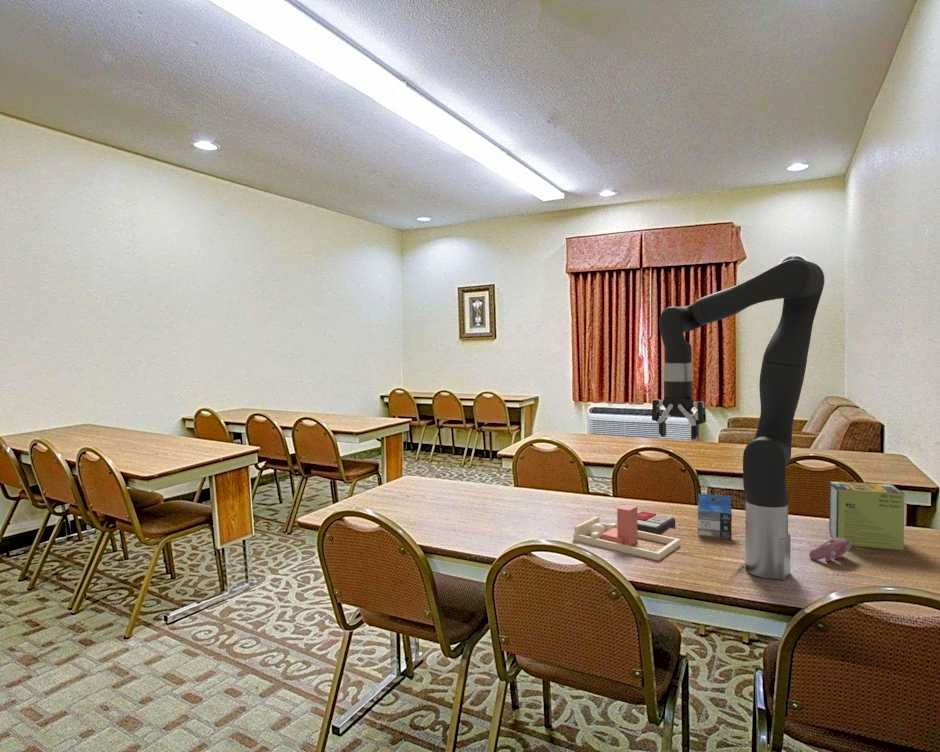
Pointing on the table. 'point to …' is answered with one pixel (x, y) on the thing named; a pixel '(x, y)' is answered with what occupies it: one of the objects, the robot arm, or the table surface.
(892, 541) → the protein box
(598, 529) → the ball
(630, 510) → the block
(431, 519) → the table surface
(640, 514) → the calculator
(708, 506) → the label tape cartridge
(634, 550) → the pitch
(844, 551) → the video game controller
